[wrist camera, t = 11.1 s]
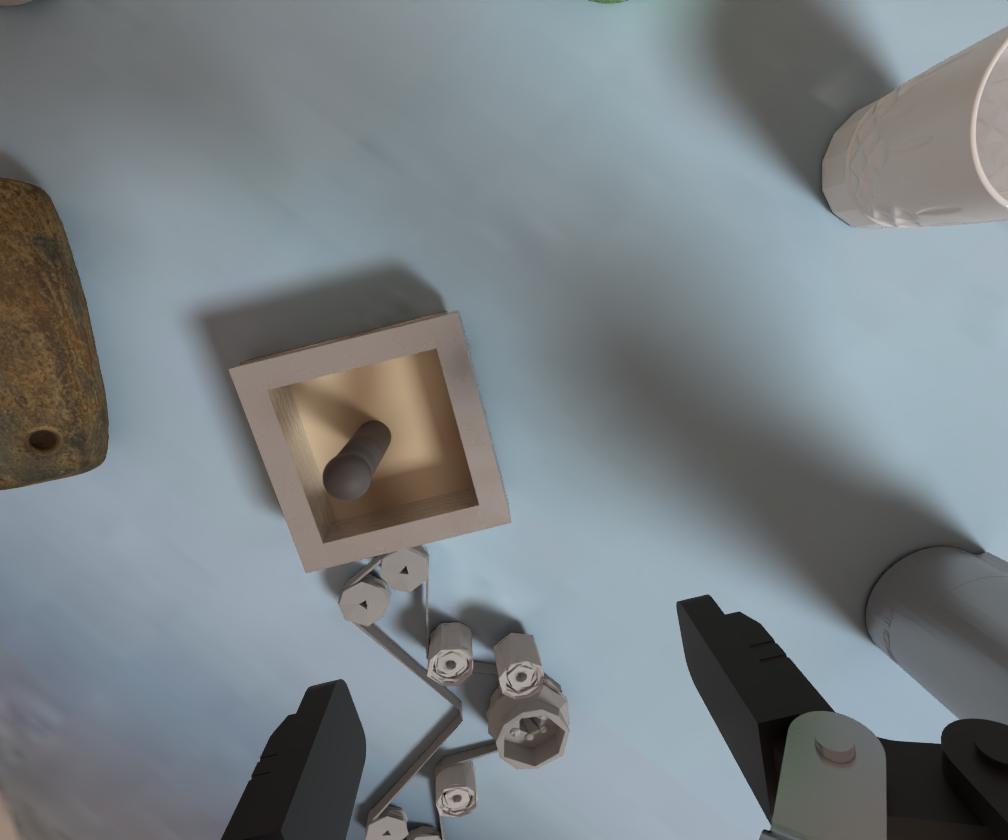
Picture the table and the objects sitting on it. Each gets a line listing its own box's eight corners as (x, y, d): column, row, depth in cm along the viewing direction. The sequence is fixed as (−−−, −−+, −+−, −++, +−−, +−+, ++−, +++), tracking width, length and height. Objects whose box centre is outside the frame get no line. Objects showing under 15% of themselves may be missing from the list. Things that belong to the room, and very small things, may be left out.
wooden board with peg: (447, 311, 30) (436, 320, 22) (495, 496, 33) (503, 570, 25) (248, 360, 30) (157, 389, 22) (315, 540, 33) (258, 630, 25)
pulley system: (565, 520, 35) (338, 534, 34) (583, 557, 31) (322, 576, 29) (557, 819, 43) (372, 843, 41) (571, 884, 38) (363, 913, 37)
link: (458, 310, 29) (457, 312, 26) (508, 501, 32) (511, 522, 29) (252, 361, 29) (228, 369, 26) (321, 547, 32) (305, 573, 29)
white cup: (825, 260, 31) (985, 247, 21) (795, 123, 29) (957, 40, 19) (952, 210, 31) (1172, 173, 21) (930, 68, 29) (1163, -45, 19)
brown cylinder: (160, 447, 31) (80, 488, 25) (43, 463, 31) (-68, 508, 25) (79, 182, 28) (-40, 149, 21) (-54, 197, 28) (-215, 170, 21)
